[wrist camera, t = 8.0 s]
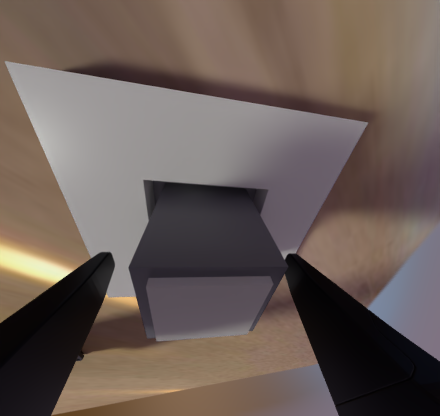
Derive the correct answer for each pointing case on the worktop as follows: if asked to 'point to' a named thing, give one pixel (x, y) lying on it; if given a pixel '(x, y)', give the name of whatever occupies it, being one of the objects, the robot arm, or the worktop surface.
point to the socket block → (176, 155)
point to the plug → (204, 264)
